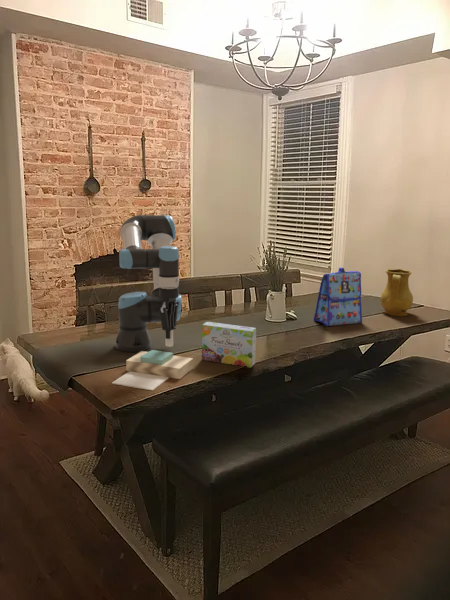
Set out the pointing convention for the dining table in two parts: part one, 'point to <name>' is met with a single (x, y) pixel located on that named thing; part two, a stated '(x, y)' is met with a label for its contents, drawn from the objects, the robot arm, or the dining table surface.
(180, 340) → the dining table surface
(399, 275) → the pitcher
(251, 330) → the snack box
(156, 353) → the coaster
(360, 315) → the lunch bag
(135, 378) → the mat
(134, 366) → the board
